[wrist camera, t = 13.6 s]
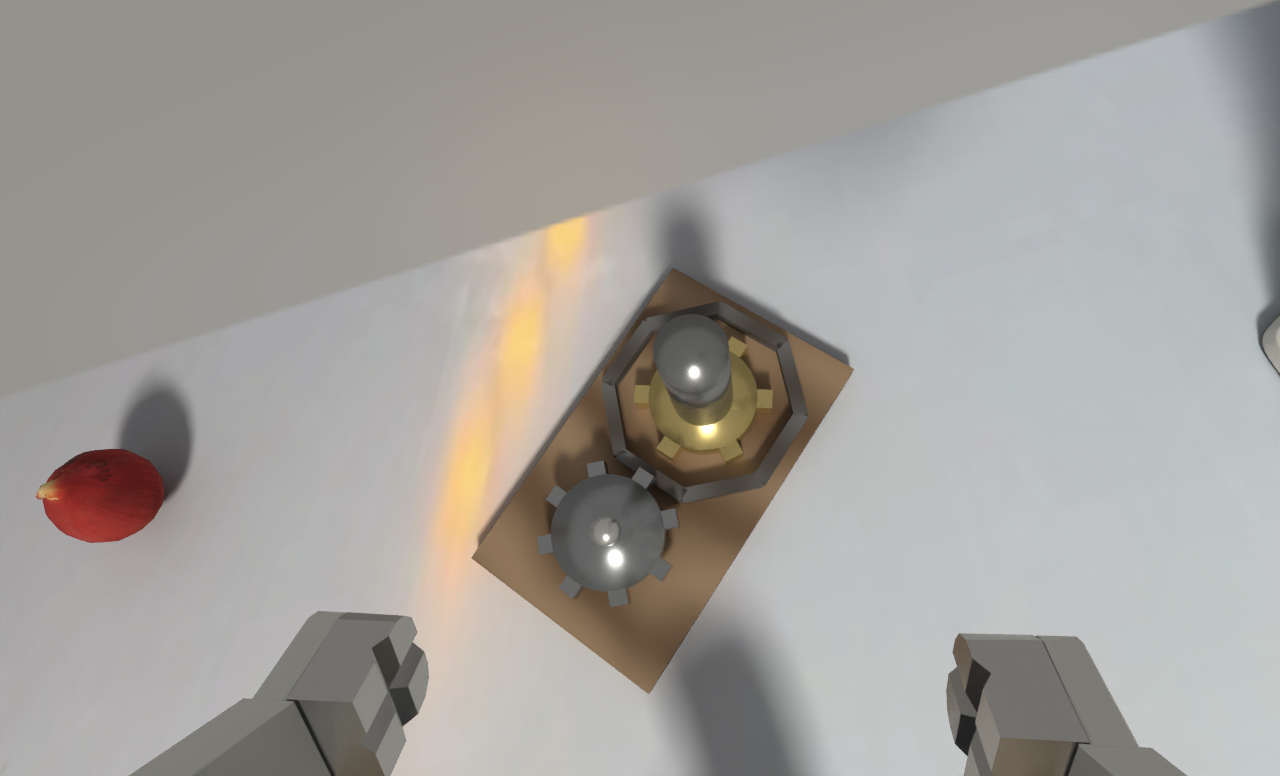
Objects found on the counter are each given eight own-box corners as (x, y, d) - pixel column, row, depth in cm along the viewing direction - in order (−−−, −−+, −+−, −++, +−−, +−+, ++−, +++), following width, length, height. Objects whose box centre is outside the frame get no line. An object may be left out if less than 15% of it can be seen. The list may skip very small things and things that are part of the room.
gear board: (674, 275, 46) (671, 261, 44) (851, 374, 43) (856, 363, 41) (478, 558, 43) (464, 557, 41) (651, 690, 40) (645, 696, 38)
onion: (122, 463, 49) (7, 440, 41) (197, 456, 48) (94, 431, 41) (110, 548, 47) (-13, 541, 40) (187, 542, 47) (77, 533, 39)
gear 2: (688, 319, 44) (671, 245, 35) (793, 380, 42) (806, 319, 33) (616, 424, 43) (577, 378, 34) (720, 492, 41) (711, 464, 31)
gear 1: (598, 442, 43) (587, 431, 40) (709, 515, 41) (705, 509, 38) (522, 553, 42) (504, 550, 39) (631, 634, 40) (621, 638, 37)
